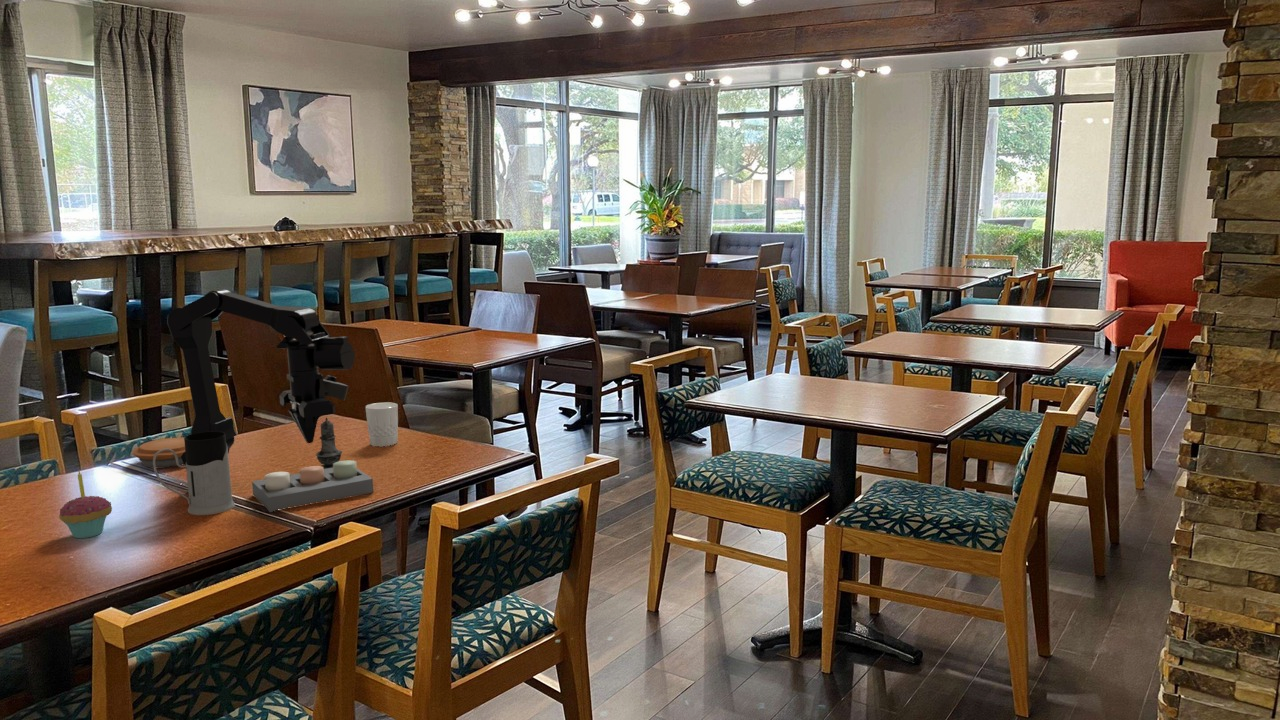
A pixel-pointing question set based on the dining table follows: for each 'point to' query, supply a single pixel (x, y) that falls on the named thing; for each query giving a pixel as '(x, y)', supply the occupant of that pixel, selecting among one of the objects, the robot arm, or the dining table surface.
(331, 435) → the grey chess piece
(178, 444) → the pie
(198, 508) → the grey handled cylinder
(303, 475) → the terracotta button
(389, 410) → the white cup
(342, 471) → the sage button
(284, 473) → the cream button
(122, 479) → the dining table surface
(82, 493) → the cupcake
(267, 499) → the console
